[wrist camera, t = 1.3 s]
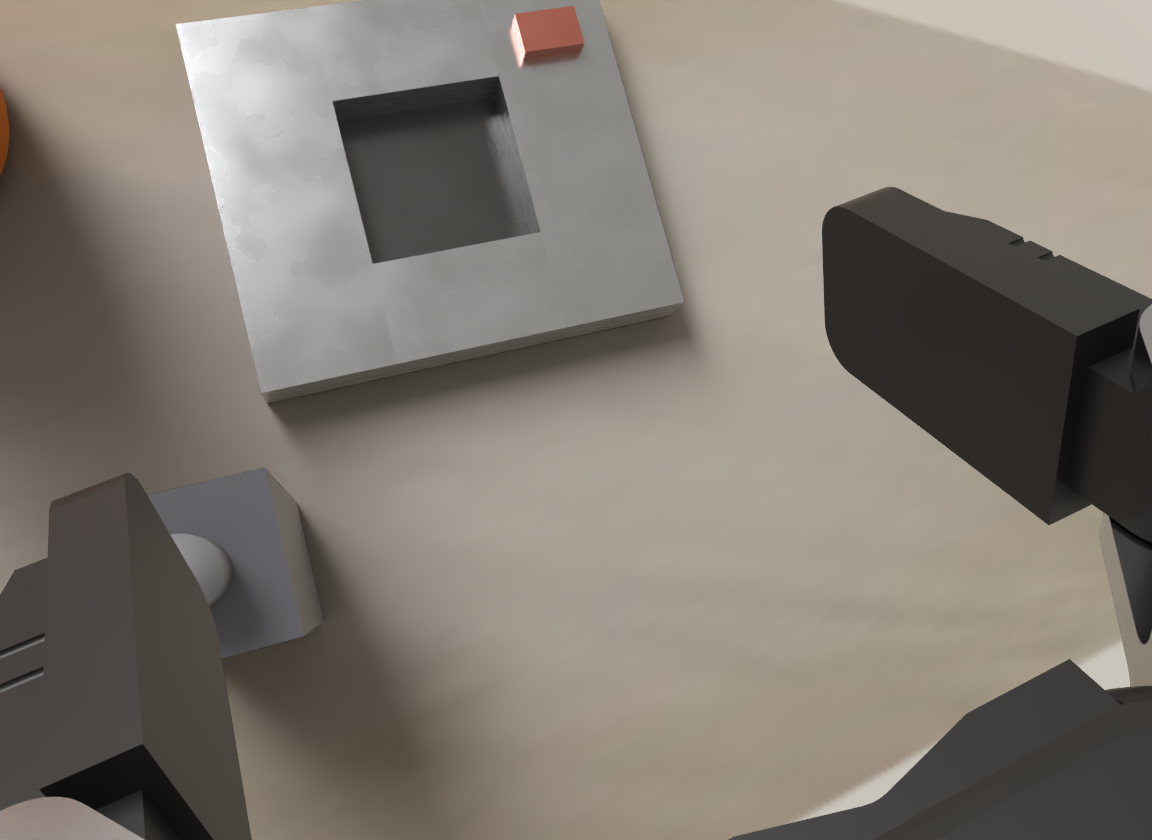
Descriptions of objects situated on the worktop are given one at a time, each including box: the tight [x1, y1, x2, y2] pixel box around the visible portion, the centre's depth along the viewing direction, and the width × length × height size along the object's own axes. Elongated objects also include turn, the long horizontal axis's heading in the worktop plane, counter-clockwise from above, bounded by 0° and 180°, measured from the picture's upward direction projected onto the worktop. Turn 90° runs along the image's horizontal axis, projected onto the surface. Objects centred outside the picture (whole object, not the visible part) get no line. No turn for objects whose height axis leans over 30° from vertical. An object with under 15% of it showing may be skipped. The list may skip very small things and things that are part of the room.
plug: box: [147, 468, 324, 659], centre depth 29 cm, size 4×4×13 cm
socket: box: [176, 0, 684, 403], centre depth 38 cm, size 16×14×3 cm
